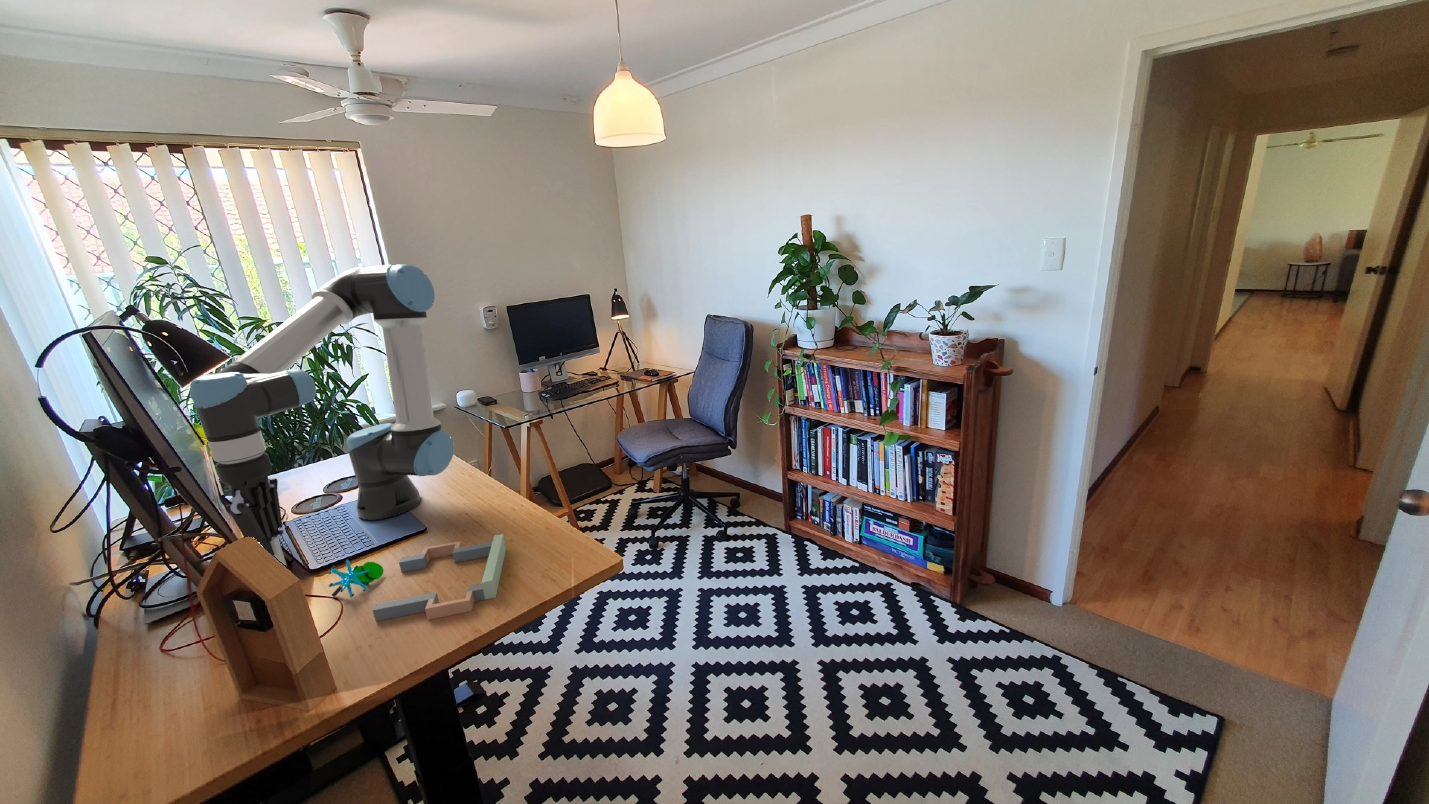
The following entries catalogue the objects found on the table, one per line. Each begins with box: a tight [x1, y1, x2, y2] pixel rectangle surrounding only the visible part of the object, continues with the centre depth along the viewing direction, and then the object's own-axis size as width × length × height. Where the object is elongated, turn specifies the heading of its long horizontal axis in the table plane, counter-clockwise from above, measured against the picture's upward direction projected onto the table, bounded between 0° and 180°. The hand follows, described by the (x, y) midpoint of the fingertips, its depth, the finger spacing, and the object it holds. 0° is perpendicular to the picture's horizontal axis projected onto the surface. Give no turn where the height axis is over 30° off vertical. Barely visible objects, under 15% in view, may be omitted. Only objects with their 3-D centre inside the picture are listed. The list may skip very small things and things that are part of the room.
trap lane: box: [372, 533, 507, 622], centre depth 115 cm, size 25×22×4 cm
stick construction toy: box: [328, 559, 384, 598], centre depth 114 cm, size 12×7×8 cm
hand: (276, 568), depth 106 cm, fingers closed
